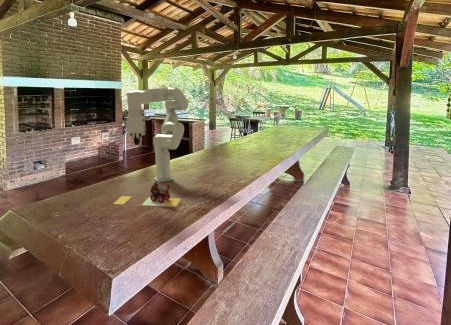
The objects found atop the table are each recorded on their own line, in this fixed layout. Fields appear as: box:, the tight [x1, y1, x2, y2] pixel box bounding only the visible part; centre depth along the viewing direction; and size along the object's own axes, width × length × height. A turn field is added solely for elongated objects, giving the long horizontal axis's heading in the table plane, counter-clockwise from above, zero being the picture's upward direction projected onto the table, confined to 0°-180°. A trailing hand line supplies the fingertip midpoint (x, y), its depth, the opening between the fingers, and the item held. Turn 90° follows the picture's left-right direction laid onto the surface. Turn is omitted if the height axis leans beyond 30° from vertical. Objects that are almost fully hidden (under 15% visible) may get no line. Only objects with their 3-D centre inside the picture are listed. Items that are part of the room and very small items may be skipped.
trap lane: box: [112, 195, 182, 208], centre depth 163 cm, size 12×35×1 cm, turn 86°
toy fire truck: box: [149, 181, 171, 203], centre depth 163 cm, size 7×12×10 cm, turn 65°
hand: (136, 144), depth 172 cm, fingers closed
